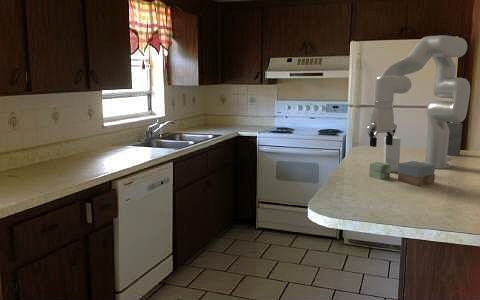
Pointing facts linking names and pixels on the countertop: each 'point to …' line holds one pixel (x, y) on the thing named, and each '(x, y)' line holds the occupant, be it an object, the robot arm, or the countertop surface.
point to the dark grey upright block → (454, 138)
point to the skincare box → (392, 153)
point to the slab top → (416, 168)
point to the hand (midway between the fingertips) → (381, 145)
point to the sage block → (379, 170)
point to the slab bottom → (416, 179)
